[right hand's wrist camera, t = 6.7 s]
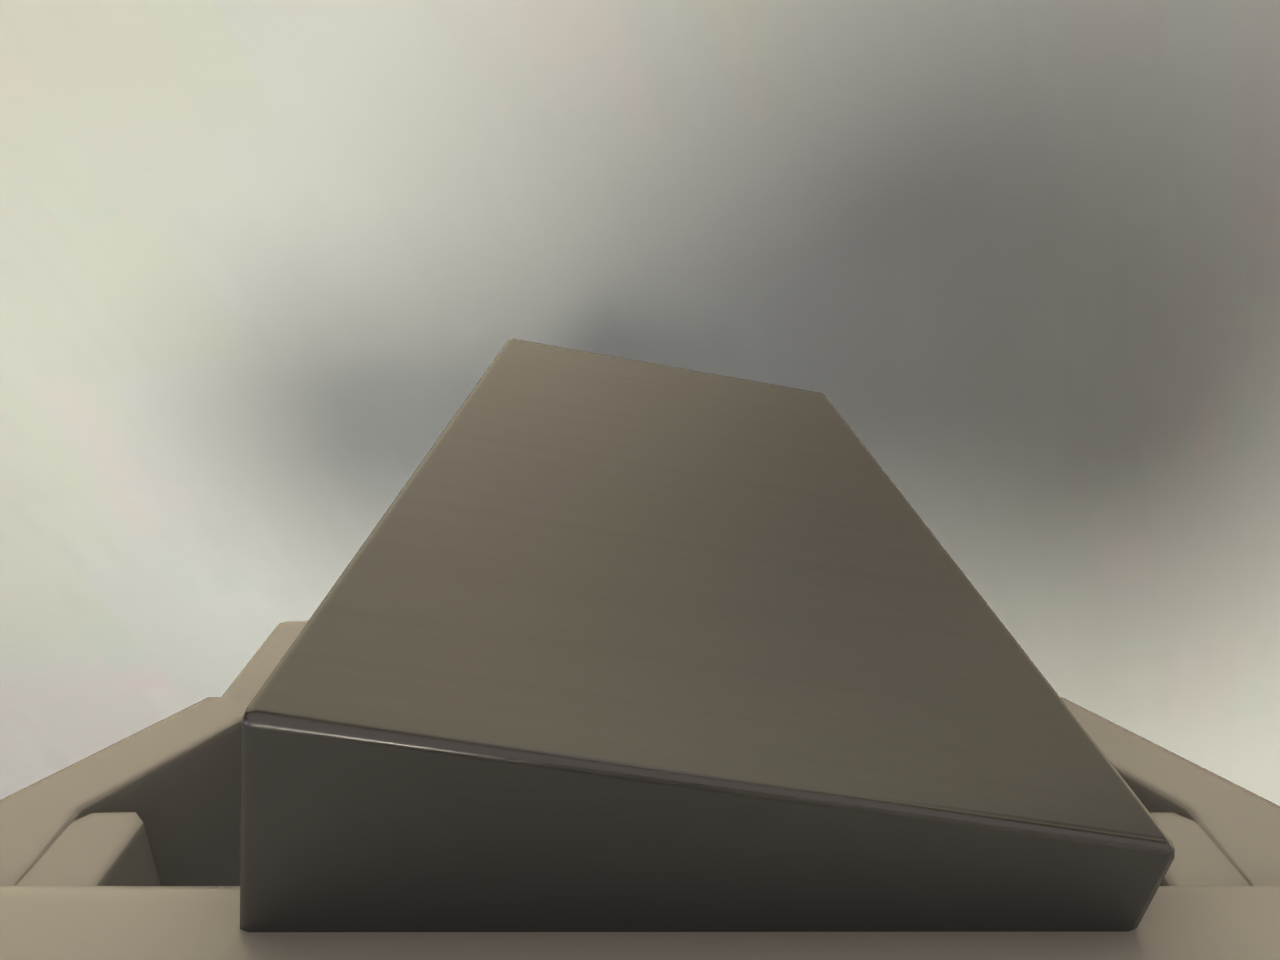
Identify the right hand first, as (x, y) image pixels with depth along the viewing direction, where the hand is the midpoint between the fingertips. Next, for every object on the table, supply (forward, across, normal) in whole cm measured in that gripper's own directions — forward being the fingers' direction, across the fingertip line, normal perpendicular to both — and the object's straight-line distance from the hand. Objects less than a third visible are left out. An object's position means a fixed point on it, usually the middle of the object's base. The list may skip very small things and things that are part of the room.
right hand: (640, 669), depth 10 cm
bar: (+4, -2, -9) cm, 10 cm away
